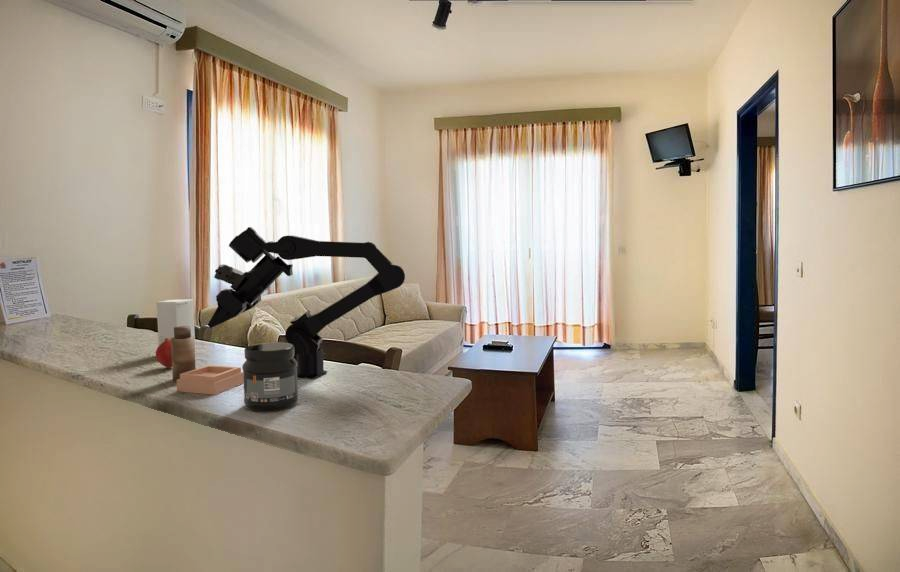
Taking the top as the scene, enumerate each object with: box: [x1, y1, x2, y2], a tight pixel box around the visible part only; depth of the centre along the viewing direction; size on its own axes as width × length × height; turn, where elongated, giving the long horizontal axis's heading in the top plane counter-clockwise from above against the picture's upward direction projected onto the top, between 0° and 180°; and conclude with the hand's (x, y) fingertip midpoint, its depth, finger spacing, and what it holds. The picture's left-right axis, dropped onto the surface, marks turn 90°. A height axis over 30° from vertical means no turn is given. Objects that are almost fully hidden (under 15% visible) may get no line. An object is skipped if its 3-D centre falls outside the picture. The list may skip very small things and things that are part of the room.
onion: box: [155, 338, 172, 369], centre depth 144 cm, size 6×6×8 cm
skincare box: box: [155, 298, 197, 352], centre depth 161 cm, size 8×7×16 cm
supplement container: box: [241, 341, 299, 413], centre depth 112 cm, size 10×10×12 cm
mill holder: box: [176, 364, 244, 396], centre depth 126 cm, size 10×10×4 cm
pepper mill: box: [171, 326, 197, 383], centre depth 133 cm, size 5×5×12 cm
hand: (215, 323), depth 133 cm, fingers open, 9 cm apart
